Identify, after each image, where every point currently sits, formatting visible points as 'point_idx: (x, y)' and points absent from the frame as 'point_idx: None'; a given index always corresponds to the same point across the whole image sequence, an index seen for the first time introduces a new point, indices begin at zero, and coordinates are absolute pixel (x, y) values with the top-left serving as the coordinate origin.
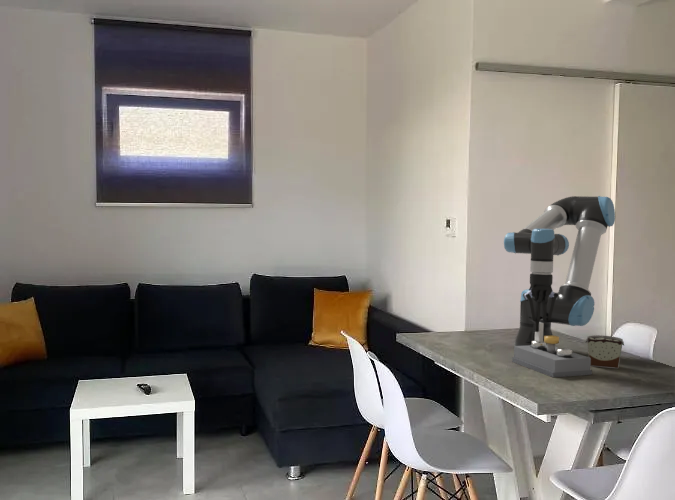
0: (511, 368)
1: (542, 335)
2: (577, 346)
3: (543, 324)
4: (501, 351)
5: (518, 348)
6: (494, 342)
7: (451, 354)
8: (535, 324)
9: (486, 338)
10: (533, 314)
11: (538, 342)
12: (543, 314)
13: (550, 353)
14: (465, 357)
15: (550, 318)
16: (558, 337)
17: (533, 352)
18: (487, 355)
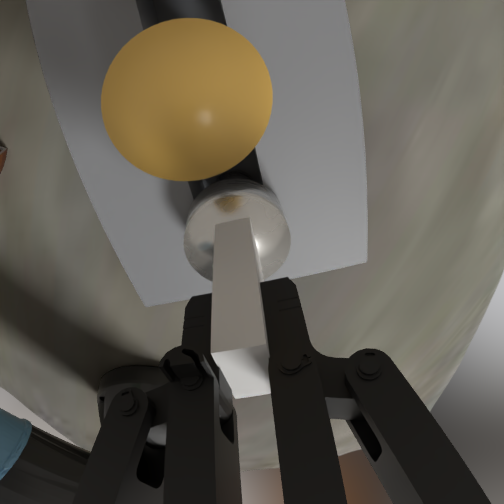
0: (417, 89)
1: (220, 253)
2: (44, 391)
3: (211, 338)
4: None
5: (365, 221)
6: (255, 427)
7: (462, 311)
8: (308, 338)
9: (256, 445)
10: (402, 426)
11: (255, 214)
12: (214, 460)
13: (231, 25)
14: (457, 280)
15: (111, 410)
16: (121, 51)
17: (351, 67)
18: (375, 312)
